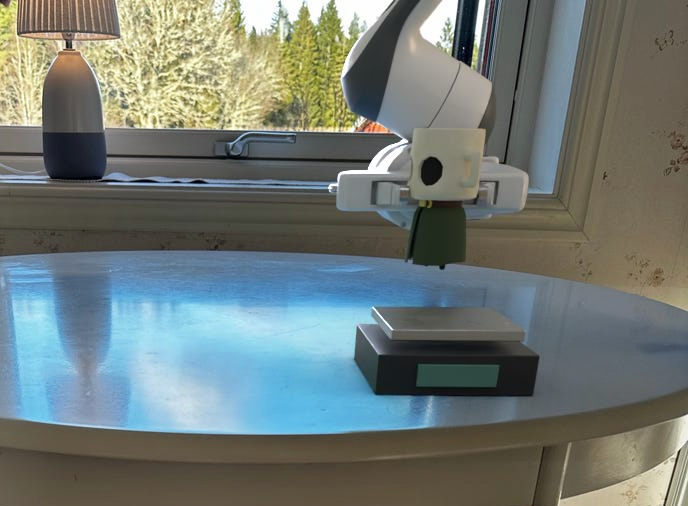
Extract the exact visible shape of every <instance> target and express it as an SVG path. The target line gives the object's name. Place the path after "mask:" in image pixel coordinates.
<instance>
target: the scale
mask: <svg viewBox="0 0 688 506" xmlns="http://www.w3.org/2000/svg"><path fill="white" fill-rule="evenodd" d="M540 358H541V356H540V355H539V354H538V353H536V352H535V351H534V350H532V349H531V348H530V347H528V346H527V345H525V344H524V343H523V342H520V341H400V340H391V339H390V338H389V337H388V336H387V334H386V333H385V332H384V331H383V329H382V328H381V327H380V326H379V325H378V323H357V324H356V329H355V342H354V353H353V359H354V361H355V363H356V365H357V367H358V369H359V370H360V371H361V374H362V375H363V376H364V378H365V380H366V381H367V383H368V384H369V386H370V388H371V390H372V391H373V393H374V395H375V396H376V395H379V396H380V395H381V396H385V395H387V396H392V395H393V396H492V397H493V396H495V397H496V396H497V397H498V396H503V397H504V396H507V397H509V396H511V397H514V396H516V397H532V396H534V393H535V386H536V381H537V374H538V369H539V365H540Z"/></svg>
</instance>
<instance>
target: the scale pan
mask: <svg viewBox="0 0 688 506" xmlns="http://www.w3.org/2000/svg"><path fill="white" fill-rule="evenodd" d="M370 315H371V317H372V319H373V320H374V321H375V322H376V324H378V325H379V326H380V327H381V328H382V329H383V331H384V332H385V333H386V334H387V336H388V337H389V338H390V339H391V340H400V341H520V342H521V343H523V342H525V340H526V335H527V330H526V329H524V328H523V327H521V326H519V325H518V324H517V323H515V322H513V320H510V319H509V318H508V317H506V316H505V315H503V314H502V313H500V312H499V311H497V310H496V309H494V308H492V307H486V306H485V307H483V306H482V307H481V306H478V307H476V306H474V307H473V306H472V307H471V306H375V305H374V306H372V307H371V313H370Z"/></svg>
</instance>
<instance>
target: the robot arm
mask: <svg viewBox="0 0 688 506" xmlns="http://www.w3.org/2000/svg"><path fill="white" fill-rule="evenodd" d="M442 2H443V0H392V1H391V3H389V5H388V6H387V7H386V9H384V11H383V12H382V13H381V14H380V15H379V17H378V18H377V19H376V21H374V22H373V23H372V24H371V25H370V26H369V27H368V28H367V29H366V30H365V32H363V33H362V34H361V36H360V37H359V38H358V39H357V41H356V42H355V43H354V44H353V46H352V48H351V50H350V51H349V53H348V55H347V58H346V59H345V62H344V65H343V69H342V72H341V75H340V82H341V83H340V84H341V88H342V93H343V97H344V100H345V102H346V105H347V107H348V109H349V112H352V113H353V114H356V115H358V116H360V117H362V118H363V119H366V120H367V121H370V122H371V123H377V124H378V125H380V126H381V127H383V128H385V129H386V130H388V131H390V132H392V133H393V134H394V135H396V136H398V137H399V138H401V139H402V140H400V141H399V142H397V143H394V144H390V145H388V146H386V147H385V148H383V149H382V150H380V151H379V152H378V153H377V154H376V155H375V156H374V158H373V159H372V160H371V162H370V164H369V166H368V168H367V170H345V171H341V172H339V173H338V175H337V183H331V184H329V186H328V188H327V190H328V192H329V193H330V194H336V202H335V207H336V208H337V210H339V211H343V212H345V211H346V212H377V214H379V215H380V216H381V217H382V218H384V219H385V220H388V221H390V222H391V223H393V224H395V225H396V226H399V227H400V228H402V229H404V230H407V231H410V229H411V225H412V220H413V216H414V213H415V211H416V209H417V207H418V206H419V200H420V199H414V198H412V197H410V196H409V191H410V188H409V186H407V184H408V180H409V177H410V173H411V155H410V153H411V148H412V140H413V132H414V129H416V128H472V129H486V133H485V142H484V148H485V147H486V145H487V143H488V141H489V139H490V137H491V136H492V133H493V131H494V127H495V125H496V124H495V123H496V121H497V93H496V89H495V86H494V82H493V81H491V80H489V79H488V78H486V77H485V76H484V75H482V74H480V73H479V72H478V71H476V70H475V69H473V68H472V67H470V66H469V65H467V64H466V63H464V62H463V61H461V60H458V59H457V58H455V57H453V56H452V55H451V54H449V53H447V52H446V51H444V50H443V49H441V48H439V47H438V46H437V45H435V44H433V43H432V42H431V41H429V40H427V39H426V38H425V37H424V36H423V34H422V33H421V27H423V25H424V24H425V23H426V22H427V20H428V19H429V18H430V16H431V15H432V14H433V13H434V11H435V10H436V9H437V8H438V6H439V5H440V4H441V3H442ZM529 181H530V177H529V174H528V173H527V172H526V171H524V170H522V169H521V168H518V167H514V166H512V165H509V164H505V163H504V164H503V163H500V159H499V157H497V156H494V155H493V156H492V155H490V156H489V155H486V154H483V158H482V166H481V173H480V181H479V189H478V193H477V196H476V198H474V199H471V200H462V207H463V208H464V210H465V213H466V222H467V221H479V220H488V219H490V218H492V215H499V214H512V213H519V212H522V210H524V208H525V206H526V203H527V198H528V191H529V183H530V182H529Z"/></svg>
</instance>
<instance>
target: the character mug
mask: <svg viewBox="0 0 688 506" xmlns="http://www.w3.org/2000/svg"><path fill="white" fill-rule="evenodd" d="M485 133H486V129H472V128H416V129H414V132H413V140H412V148H411V153H410V155H411V173H410V177H409V180H408V184H407V186H409V188H410V191H409V196H410V197H412V198H414V199H420V200H419V206H418V207H417V209H416V211H415V213H414V216H413V220H412V225H411V229H410V230H409V234H408V238H407V243H406V247H405V248H406V249H405V254H404V259H403V260H404V263H408V262H409V260H410V259H412V263H411V264H412V265H414V266H415V265H416V266H424V267H438V268H439V270H441V271H444V270H445V269H446V265H451V264H457V263H466V261H467V260H466V259H467V221H466V213H465V210H464V208H463V207H462V200H471V199H474V198H476V196H477V193H478V189H479V181H480V173H481V166H482V158H483V155H484V149H485V147H484V142H485Z"/></svg>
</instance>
